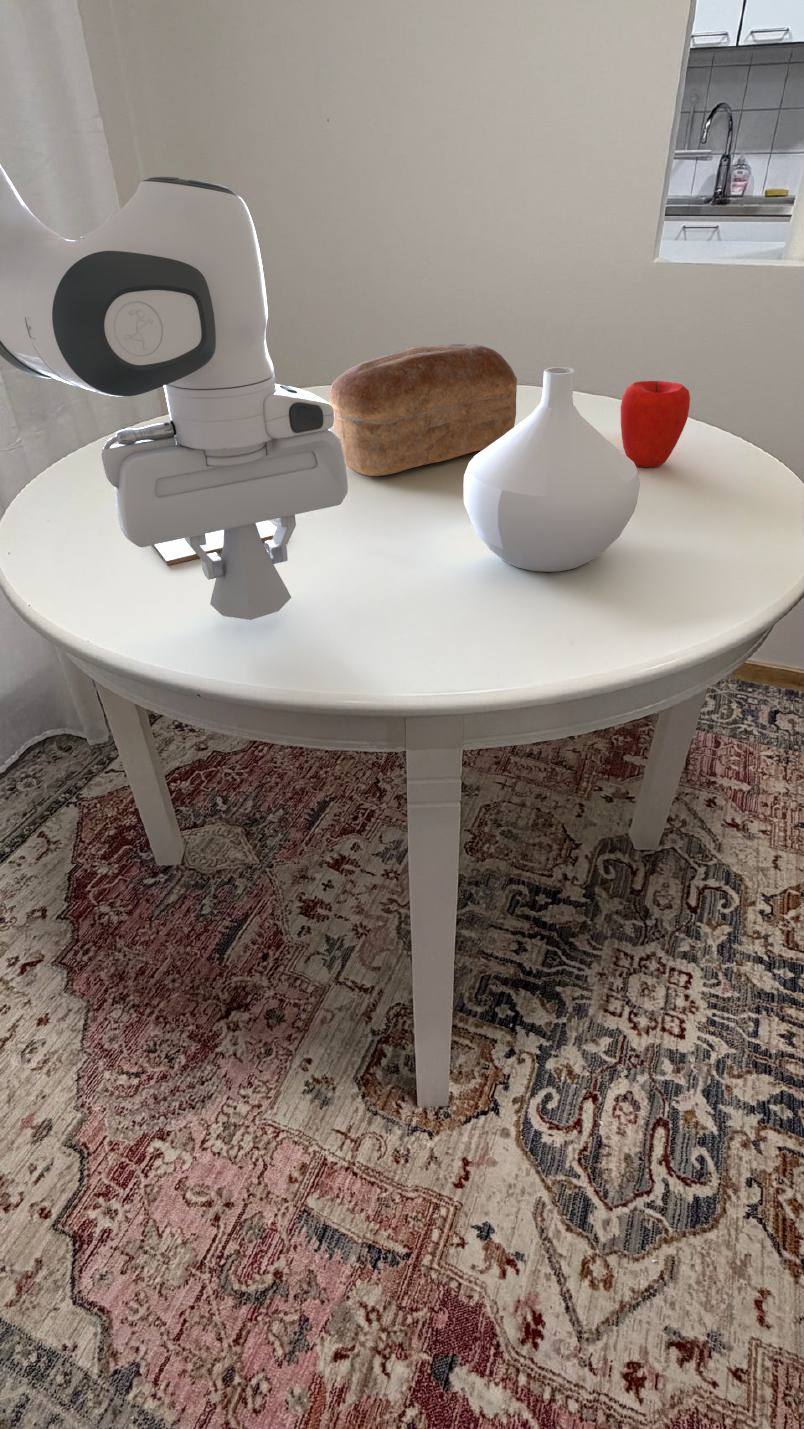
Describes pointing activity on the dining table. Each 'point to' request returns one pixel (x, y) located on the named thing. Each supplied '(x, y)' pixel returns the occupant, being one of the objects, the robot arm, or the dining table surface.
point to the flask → (247, 577)
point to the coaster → (183, 552)
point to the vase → (551, 486)
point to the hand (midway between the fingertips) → (246, 568)
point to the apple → (653, 420)
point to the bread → (422, 406)
